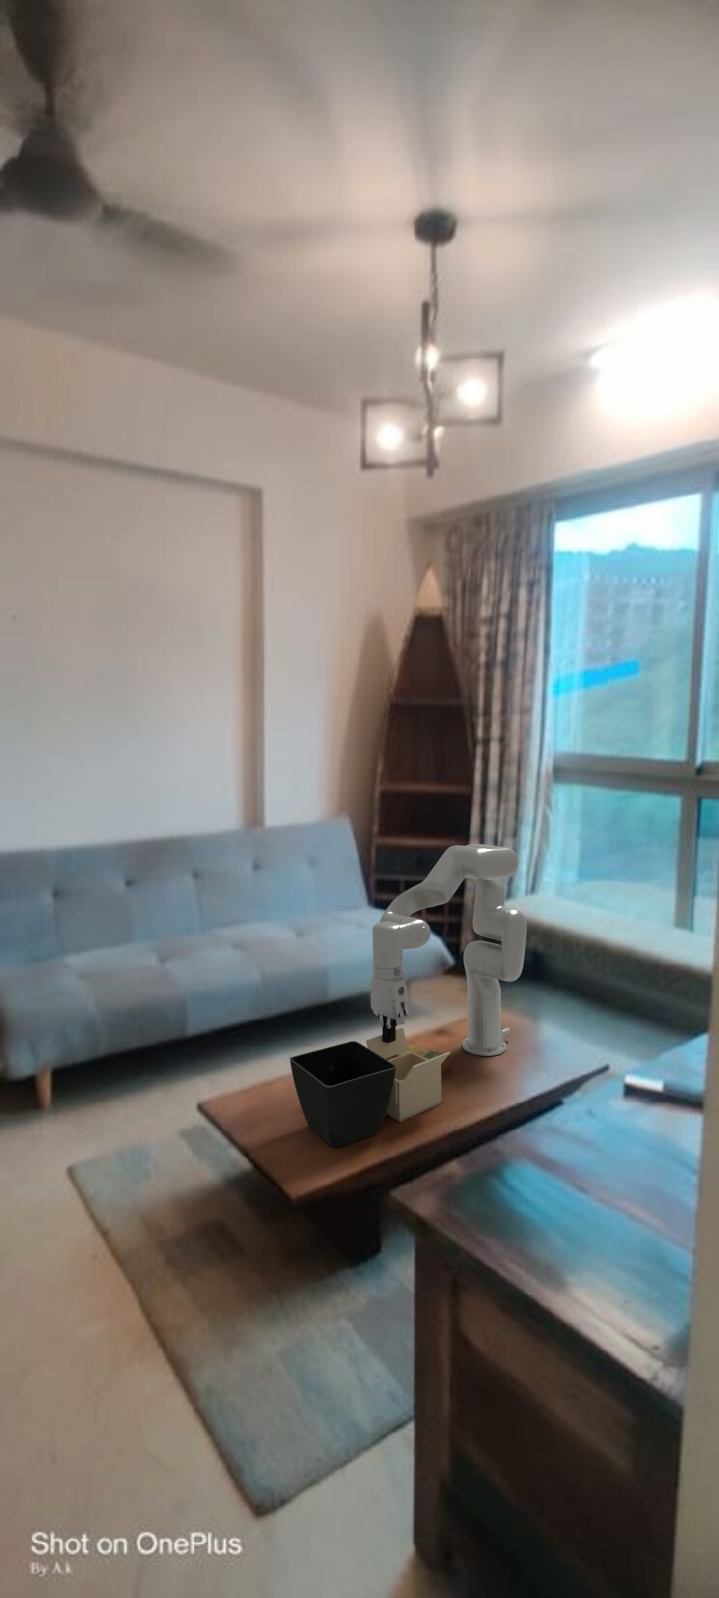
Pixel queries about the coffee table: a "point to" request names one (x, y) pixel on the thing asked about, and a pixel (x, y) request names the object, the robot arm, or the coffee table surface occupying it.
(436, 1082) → the shipping box
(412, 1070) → the near flap
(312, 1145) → the coffee table surface
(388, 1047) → the far flap
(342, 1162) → the coffee table surface
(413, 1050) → the carton
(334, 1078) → the flower pot
